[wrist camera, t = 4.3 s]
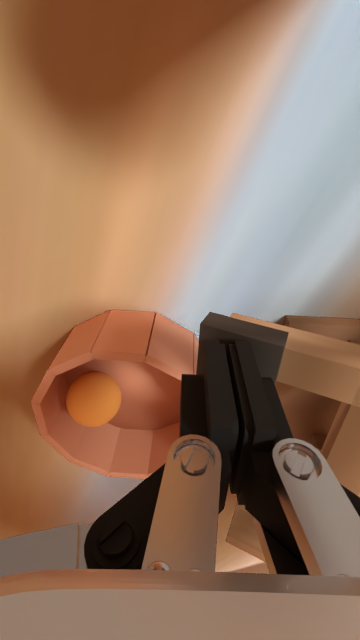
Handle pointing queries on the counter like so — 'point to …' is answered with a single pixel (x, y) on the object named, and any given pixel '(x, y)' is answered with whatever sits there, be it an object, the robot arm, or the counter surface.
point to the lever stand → (307, 407)
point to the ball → (93, 399)
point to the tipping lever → (305, 373)
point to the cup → (135, 385)
